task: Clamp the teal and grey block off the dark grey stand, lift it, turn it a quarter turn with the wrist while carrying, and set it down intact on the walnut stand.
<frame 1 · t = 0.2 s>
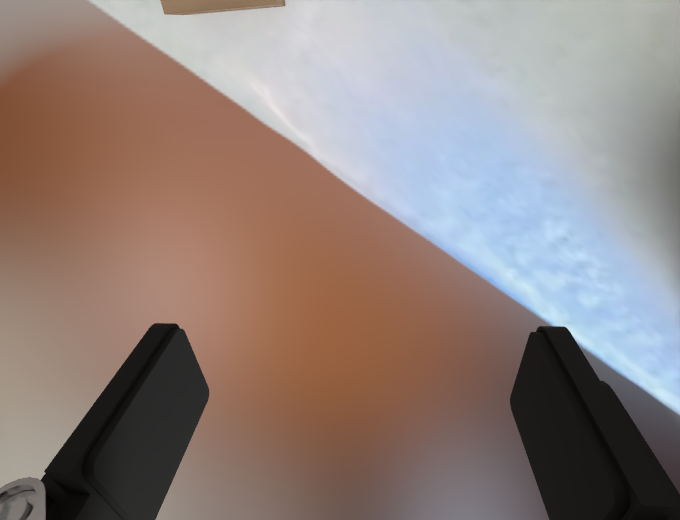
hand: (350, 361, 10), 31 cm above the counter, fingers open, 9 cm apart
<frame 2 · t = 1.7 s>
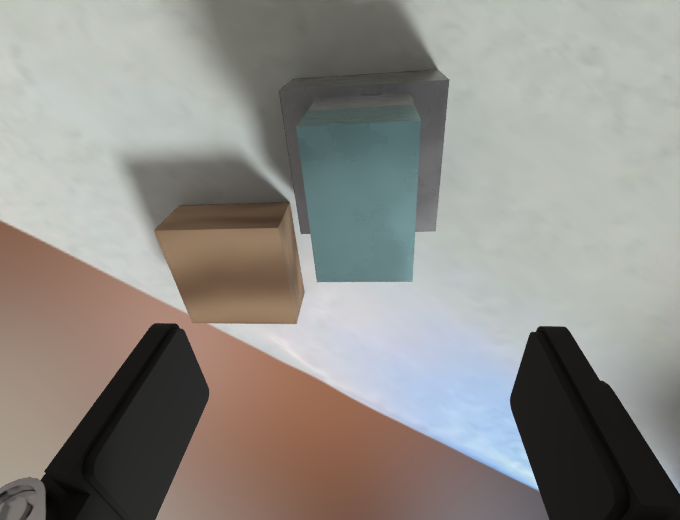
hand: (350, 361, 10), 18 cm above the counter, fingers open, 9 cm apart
stand a: (366, 147, 25), on the counter
stand b: (246, 252, 31), on the counter
teal and grey block: (364, 167, 22), point 4 cm above the counter, touching stand a
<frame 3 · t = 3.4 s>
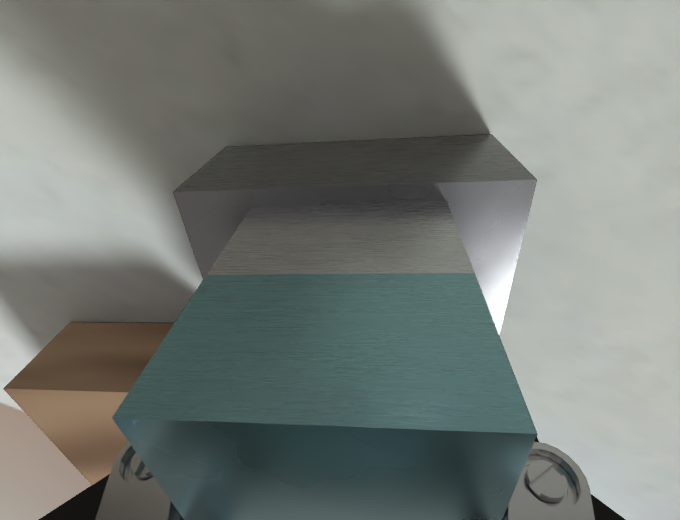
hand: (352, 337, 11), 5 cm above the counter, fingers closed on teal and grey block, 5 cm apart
stand a: (358, 252, 15), on the counter
stand b: (180, 381, 20), on the counter
teal and grey block: (353, 320, 11), point 4 cm above the counter, touching gripper, stand a
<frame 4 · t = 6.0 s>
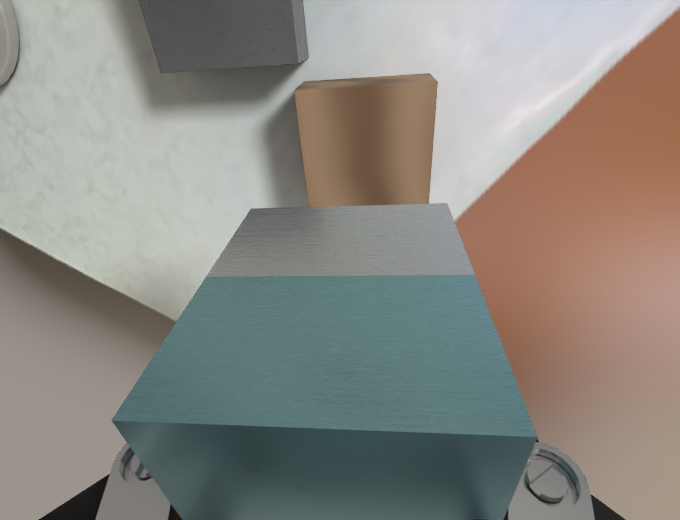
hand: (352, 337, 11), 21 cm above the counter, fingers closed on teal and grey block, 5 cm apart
stand b: (367, 141, 28), on the counter
teal and grey block: (353, 322, 11), point 21 cm above the counter, touching gripper
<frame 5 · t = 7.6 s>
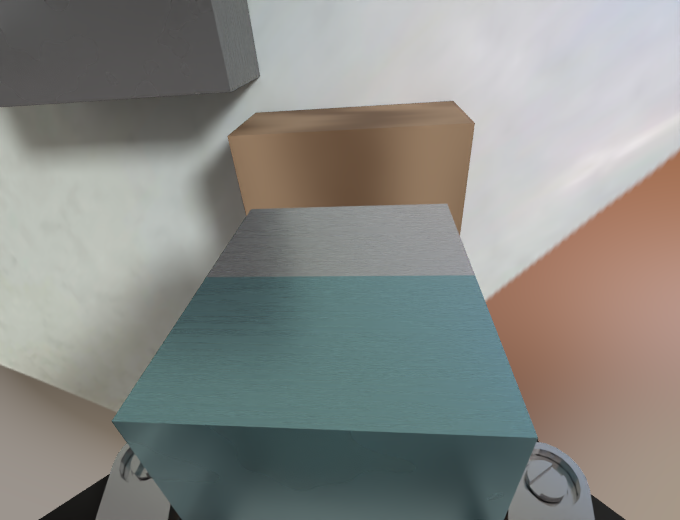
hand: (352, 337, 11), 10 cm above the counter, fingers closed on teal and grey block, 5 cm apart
stand b: (356, 198, 19), on the counter
teal and grey block: (353, 322, 11), point 9 cm above the counter, touching gripper
when the fingers open (6 cm above the counter, at t = 8.7 s): teal and grey block drops 1 cm, resting on stand b.
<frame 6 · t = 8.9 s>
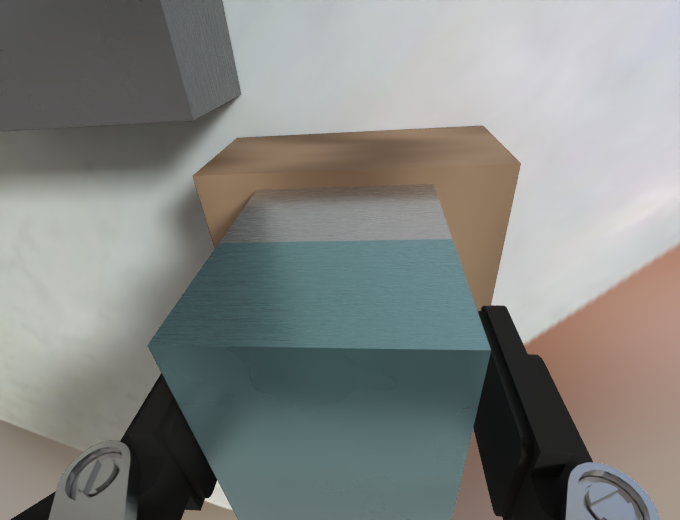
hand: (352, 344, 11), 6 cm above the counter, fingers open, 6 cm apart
stand b: (360, 238, 16), on the counter
teal and grey block: (350, 296, 12), point 4 cm above the counter, touching stand b
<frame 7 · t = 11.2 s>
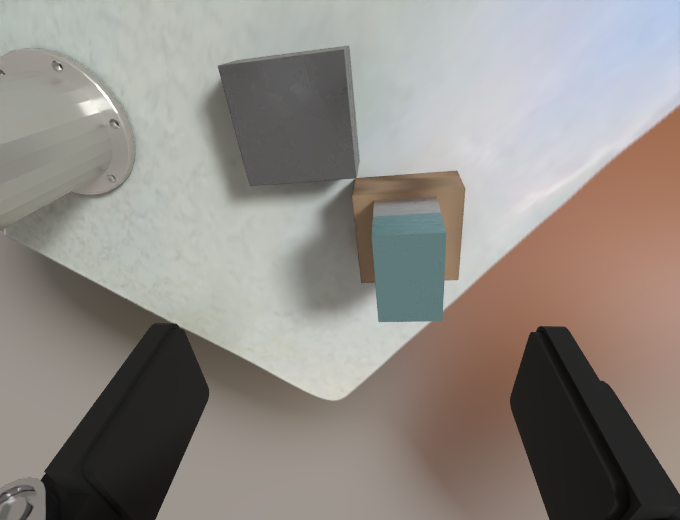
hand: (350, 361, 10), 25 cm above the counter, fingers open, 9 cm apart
stand a: (301, 114, 30), on the counter
stand b: (406, 219, 35), on the counter
teal and grey block: (405, 240, 32), point 4 cm above the counter, touching stand b
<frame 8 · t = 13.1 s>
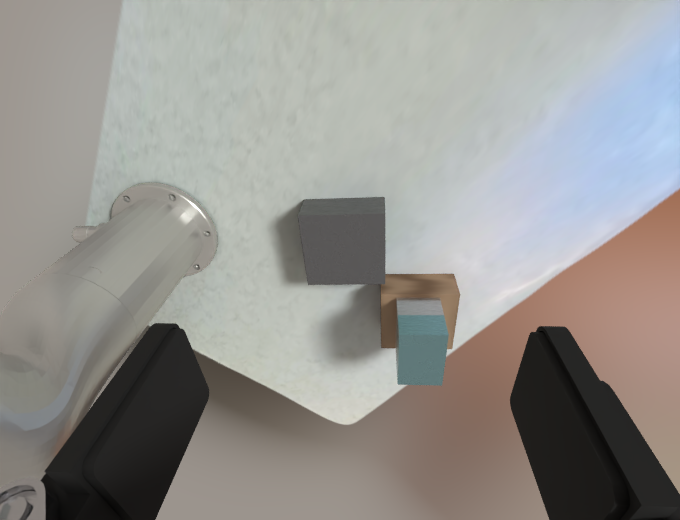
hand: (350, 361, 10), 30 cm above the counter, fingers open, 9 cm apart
stand a: (346, 233, 43), on the counter
stand b: (415, 301, 47), on the counter
teal and grey block: (416, 322, 44), point 4 cm above the counter, touching stand b
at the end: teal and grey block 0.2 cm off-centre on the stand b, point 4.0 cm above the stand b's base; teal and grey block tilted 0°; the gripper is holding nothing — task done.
